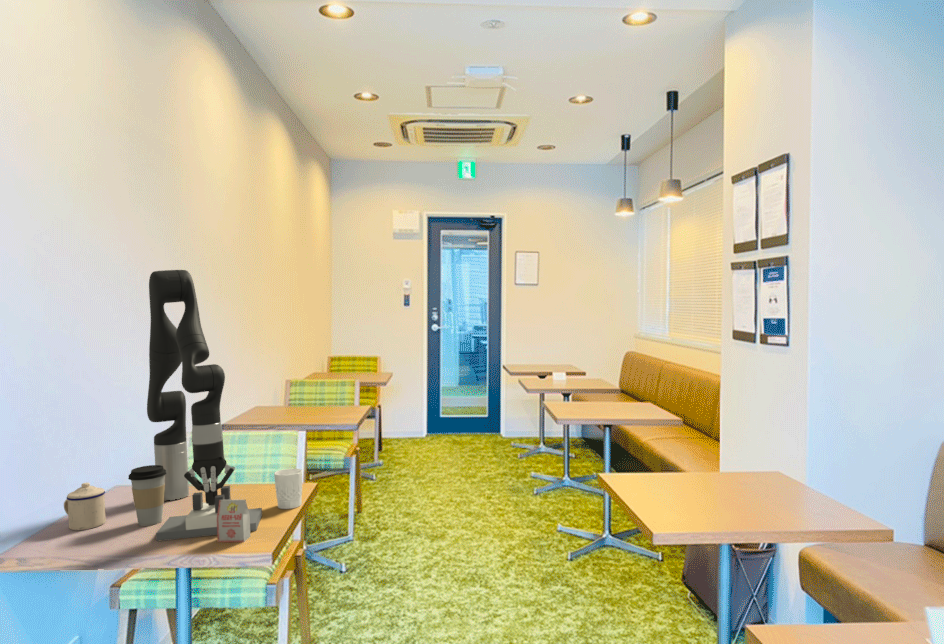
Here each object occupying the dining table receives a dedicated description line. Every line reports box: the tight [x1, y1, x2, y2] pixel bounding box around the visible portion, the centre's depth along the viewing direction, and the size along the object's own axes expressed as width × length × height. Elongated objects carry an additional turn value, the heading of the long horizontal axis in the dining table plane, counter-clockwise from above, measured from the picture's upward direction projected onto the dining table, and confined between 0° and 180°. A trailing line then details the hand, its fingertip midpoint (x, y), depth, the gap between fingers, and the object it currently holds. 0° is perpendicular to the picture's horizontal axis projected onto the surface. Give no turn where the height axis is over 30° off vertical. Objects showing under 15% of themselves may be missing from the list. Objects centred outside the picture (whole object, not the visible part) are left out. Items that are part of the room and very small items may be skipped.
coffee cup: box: [127, 464, 167, 527], centre depth 173 cm, size 9×9×15 cm
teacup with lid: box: [63, 482, 107, 531], centre depth 173 cm, size 12×9×12 cm
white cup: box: [274, 468, 303, 510], centre depth 183 cm, size 8×8×10 cm
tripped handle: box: [191, 491, 204, 511], centre depth 166 cm, size 2×2×4 cm
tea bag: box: [217, 499, 251, 543], centre depth 157 cm, size 4×7×10 cm, turn 85°
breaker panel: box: [155, 485, 263, 542], centre depth 167 cm, size 13×24×9 cm, turn 102°
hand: (212, 504), depth 167 cm, fingers closed
